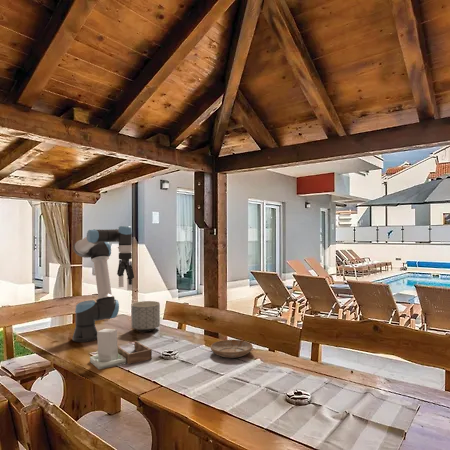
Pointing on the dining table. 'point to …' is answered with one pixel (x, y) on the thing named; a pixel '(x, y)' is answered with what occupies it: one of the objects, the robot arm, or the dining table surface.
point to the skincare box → (107, 345)
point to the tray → (107, 364)
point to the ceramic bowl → (231, 348)
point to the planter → (145, 315)
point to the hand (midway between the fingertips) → (125, 288)
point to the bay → (136, 353)
